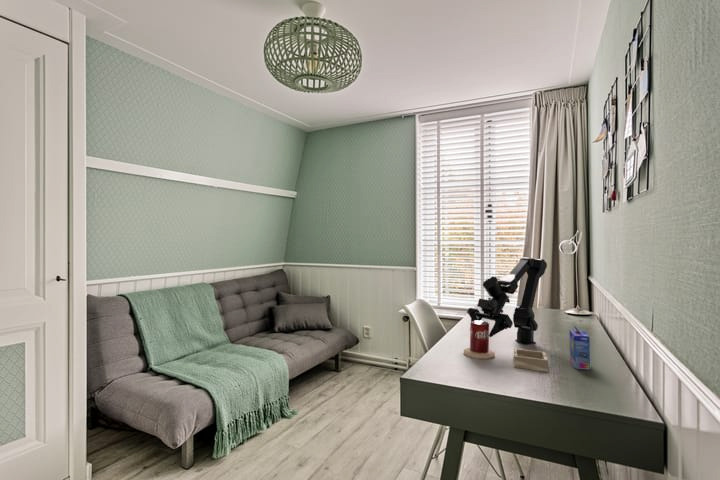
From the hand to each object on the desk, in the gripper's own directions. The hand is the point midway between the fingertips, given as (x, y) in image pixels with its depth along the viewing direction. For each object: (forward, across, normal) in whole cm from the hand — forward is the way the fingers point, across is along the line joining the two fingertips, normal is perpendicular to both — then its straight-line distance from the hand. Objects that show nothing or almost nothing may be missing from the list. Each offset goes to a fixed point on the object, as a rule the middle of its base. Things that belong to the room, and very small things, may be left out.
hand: (480, 333), depth 157 cm
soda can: (+6, 0, +5) cm, 7 cm away
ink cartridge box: (-8, +29, +20) cm, 37 cm away
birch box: (+2, +19, +9) cm, 21 cm away
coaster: (+6, 0, +6) cm, 8 cm away
